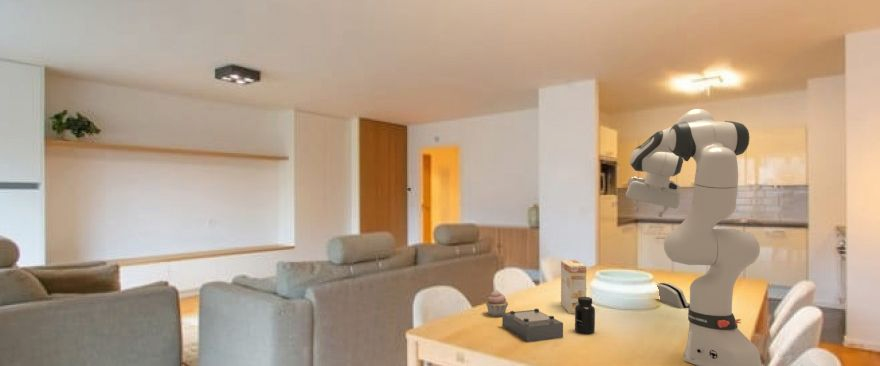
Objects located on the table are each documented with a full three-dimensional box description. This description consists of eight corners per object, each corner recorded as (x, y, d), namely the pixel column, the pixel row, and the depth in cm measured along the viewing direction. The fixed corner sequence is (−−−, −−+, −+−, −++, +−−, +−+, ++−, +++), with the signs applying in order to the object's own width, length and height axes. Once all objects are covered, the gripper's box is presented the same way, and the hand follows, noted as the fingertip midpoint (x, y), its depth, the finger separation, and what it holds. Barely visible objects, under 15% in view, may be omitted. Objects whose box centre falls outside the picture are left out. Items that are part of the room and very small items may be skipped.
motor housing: (563, 337, 162) (563, 318, 162) (526, 342, 157) (526, 322, 157) (531, 320, 181) (531, 304, 181) (498, 324, 177) (498, 307, 177)
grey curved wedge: (691, 308, 200) (684, 286, 199) (682, 312, 199) (675, 290, 199) (666, 298, 216) (659, 278, 216) (657, 302, 216) (650, 282, 215)
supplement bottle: (572, 333, 167) (572, 298, 167) (577, 327, 173) (577, 294, 173) (593, 335, 163) (593, 301, 163) (596, 330, 169) (596, 297, 169)
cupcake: (509, 312, 193) (509, 288, 193) (506, 318, 184) (506, 293, 184) (487, 310, 196) (487, 286, 196) (483, 317, 187) (483, 291, 187)
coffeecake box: (586, 314, 191) (586, 265, 191) (569, 314, 191) (569, 265, 191) (576, 304, 206) (576, 259, 206) (560, 304, 206) (560, 259, 206)
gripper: (630, 176, 192) (621, 208, 195) (684, 187, 187) (675, 221, 189) (629, 175, 198) (621, 206, 201) (681, 186, 193) (672, 218, 195)
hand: (647, 213), depth 195 cm, fingers open, 8 cm apart
